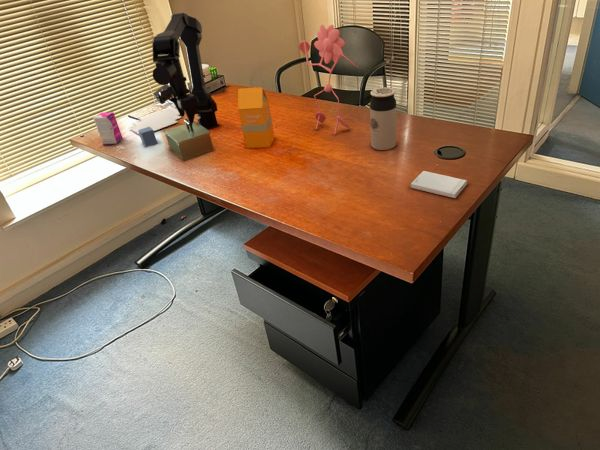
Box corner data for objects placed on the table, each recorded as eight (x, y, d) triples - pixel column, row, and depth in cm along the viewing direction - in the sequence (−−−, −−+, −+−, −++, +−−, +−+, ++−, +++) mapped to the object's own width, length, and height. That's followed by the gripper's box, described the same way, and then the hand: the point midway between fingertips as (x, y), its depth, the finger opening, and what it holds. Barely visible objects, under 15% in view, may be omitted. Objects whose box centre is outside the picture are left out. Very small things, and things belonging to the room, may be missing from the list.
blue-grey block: (154, 139, 174) (149, 126, 171) (157, 143, 171) (153, 129, 167) (142, 143, 172) (137, 130, 169) (146, 147, 169) (141, 133, 166)
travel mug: (390, 138, 148) (389, 85, 138) (400, 147, 142) (400, 92, 132) (367, 143, 147) (365, 90, 137) (376, 152, 141) (375, 97, 131)
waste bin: (198, 138, 169) (194, 123, 165) (213, 150, 158) (209, 134, 155) (170, 148, 164) (165, 133, 161) (183, 161, 154) (178, 144, 150)
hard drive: (410, 183, 120) (455, 193, 113) (423, 170, 125) (467, 179, 118) (410, 188, 121) (454, 199, 114) (423, 175, 126) (466, 184, 119)
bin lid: (195, 122, 165) (192, 111, 163) (210, 133, 155) (207, 121, 152) (164, 132, 161) (161, 121, 158) (178, 144, 150) (174, 132, 148)
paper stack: (120, 124, 193) (119, 123, 192) (171, 106, 205) (170, 105, 205) (141, 137, 177) (141, 135, 177) (195, 116, 189) (195, 115, 189)
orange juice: (251, 138, 163) (241, 84, 151) (274, 137, 161) (265, 83, 149) (245, 148, 156) (234, 92, 145) (269, 147, 154) (259, 91, 143)
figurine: (351, 140, 151) (344, 31, 131) (298, 126, 167) (285, 27, 147) (379, 124, 159) (376, 20, 139) (326, 112, 175) (317, 17, 155)
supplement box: (116, 144, 174) (105, 117, 168) (103, 145, 176) (92, 118, 169) (123, 138, 179) (113, 111, 172) (111, 139, 180) (100, 112, 174)
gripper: (143, 76, 151) (157, 119, 160) (160, 87, 137) (174, 134, 146) (174, 68, 155) (186, 110, 164) (193, 78, 141) (205, 124, 150)
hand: (187, 119), depth 156 cm, fingers open, 9 cm apart
